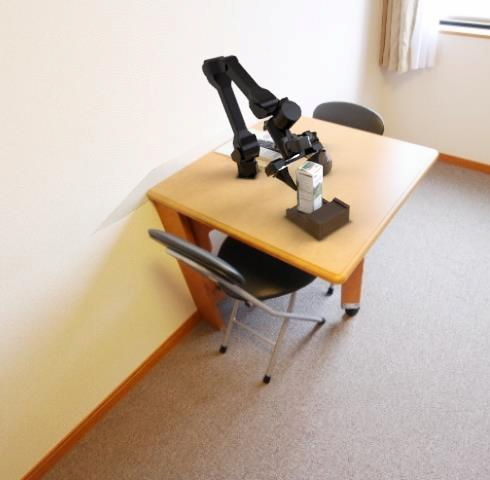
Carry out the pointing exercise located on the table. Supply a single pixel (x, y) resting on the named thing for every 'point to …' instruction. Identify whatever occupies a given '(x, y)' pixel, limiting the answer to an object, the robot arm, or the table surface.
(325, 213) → the dark brown boxy piece
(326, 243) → the table surface
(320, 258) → the table surface
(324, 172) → the vase
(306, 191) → the syrup box
